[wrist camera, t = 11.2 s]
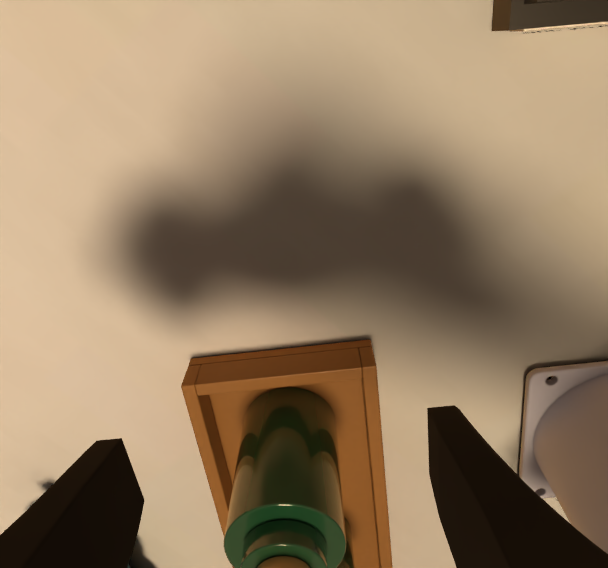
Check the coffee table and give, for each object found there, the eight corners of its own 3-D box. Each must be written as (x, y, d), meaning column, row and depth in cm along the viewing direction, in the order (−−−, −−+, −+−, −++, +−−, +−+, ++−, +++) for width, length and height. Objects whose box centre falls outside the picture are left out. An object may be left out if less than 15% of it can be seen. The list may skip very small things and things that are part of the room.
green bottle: (331, 381, 23) (346, 584, 14) (340, 454, 25) (359, 672, 16) (235, 391, 23) (194, 596, 15) (252, 463, 25) (224, 681, 17)
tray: (370, 338, 23) (376, 366, 21) (395, 640, 32) (401, 677, 31) (190, 358, 23) (180, 386, 21) (268, 649, 33) (266, 686, 31)
